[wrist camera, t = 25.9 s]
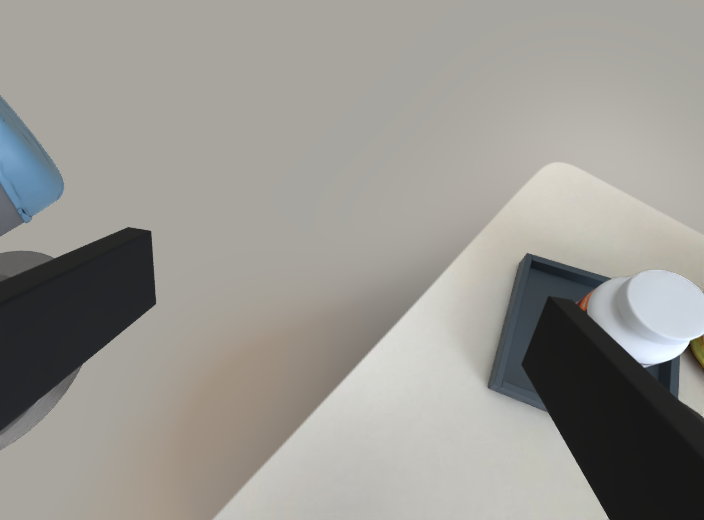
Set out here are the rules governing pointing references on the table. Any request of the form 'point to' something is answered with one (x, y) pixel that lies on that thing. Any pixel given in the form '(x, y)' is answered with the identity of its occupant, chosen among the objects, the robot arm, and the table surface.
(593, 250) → the table surface
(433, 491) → the table surface
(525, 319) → the tray
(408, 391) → the table surface
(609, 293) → the pill bottle
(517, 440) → the table surface
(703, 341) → the decorated donut
